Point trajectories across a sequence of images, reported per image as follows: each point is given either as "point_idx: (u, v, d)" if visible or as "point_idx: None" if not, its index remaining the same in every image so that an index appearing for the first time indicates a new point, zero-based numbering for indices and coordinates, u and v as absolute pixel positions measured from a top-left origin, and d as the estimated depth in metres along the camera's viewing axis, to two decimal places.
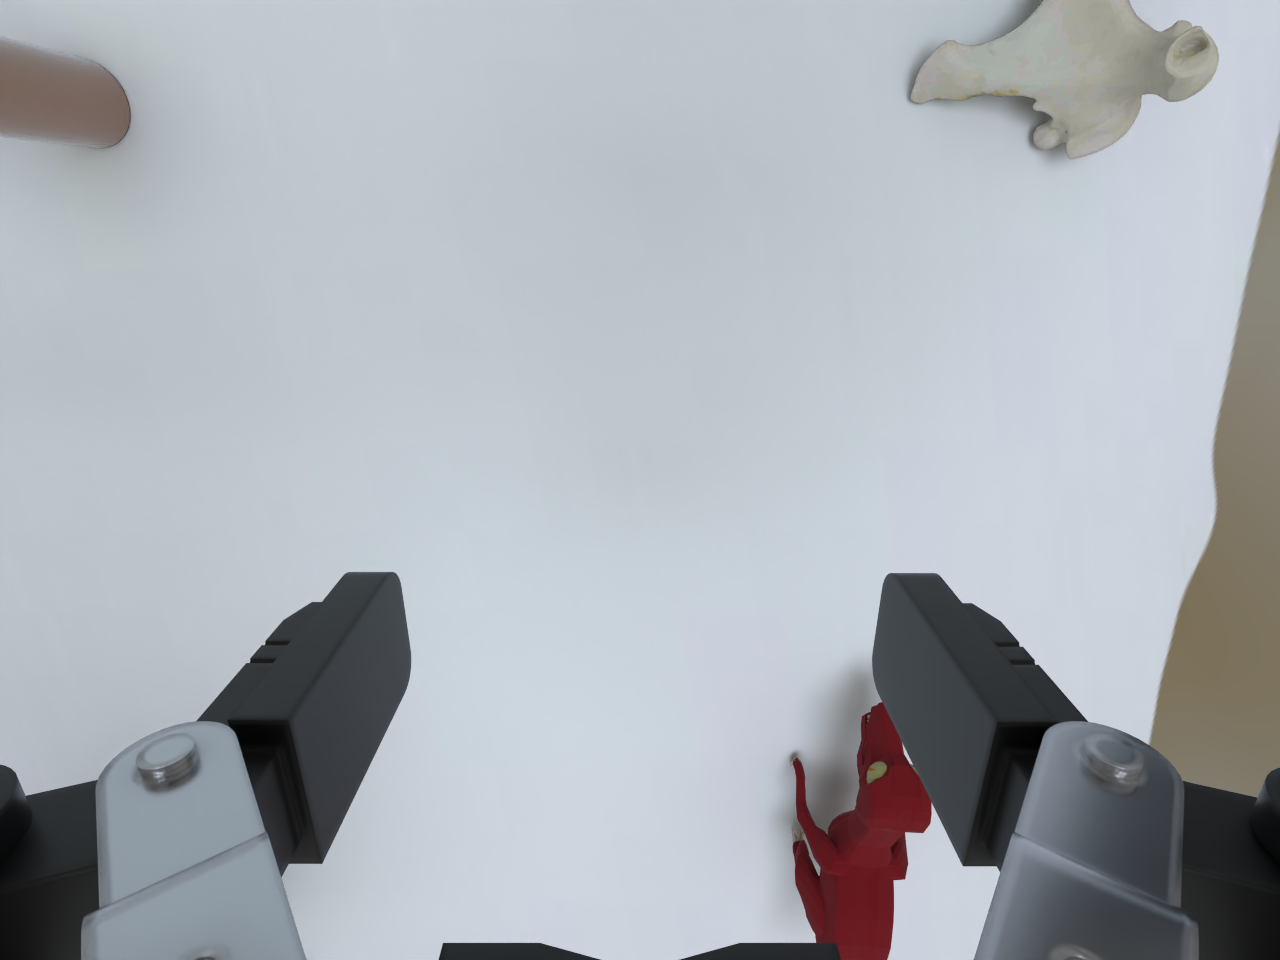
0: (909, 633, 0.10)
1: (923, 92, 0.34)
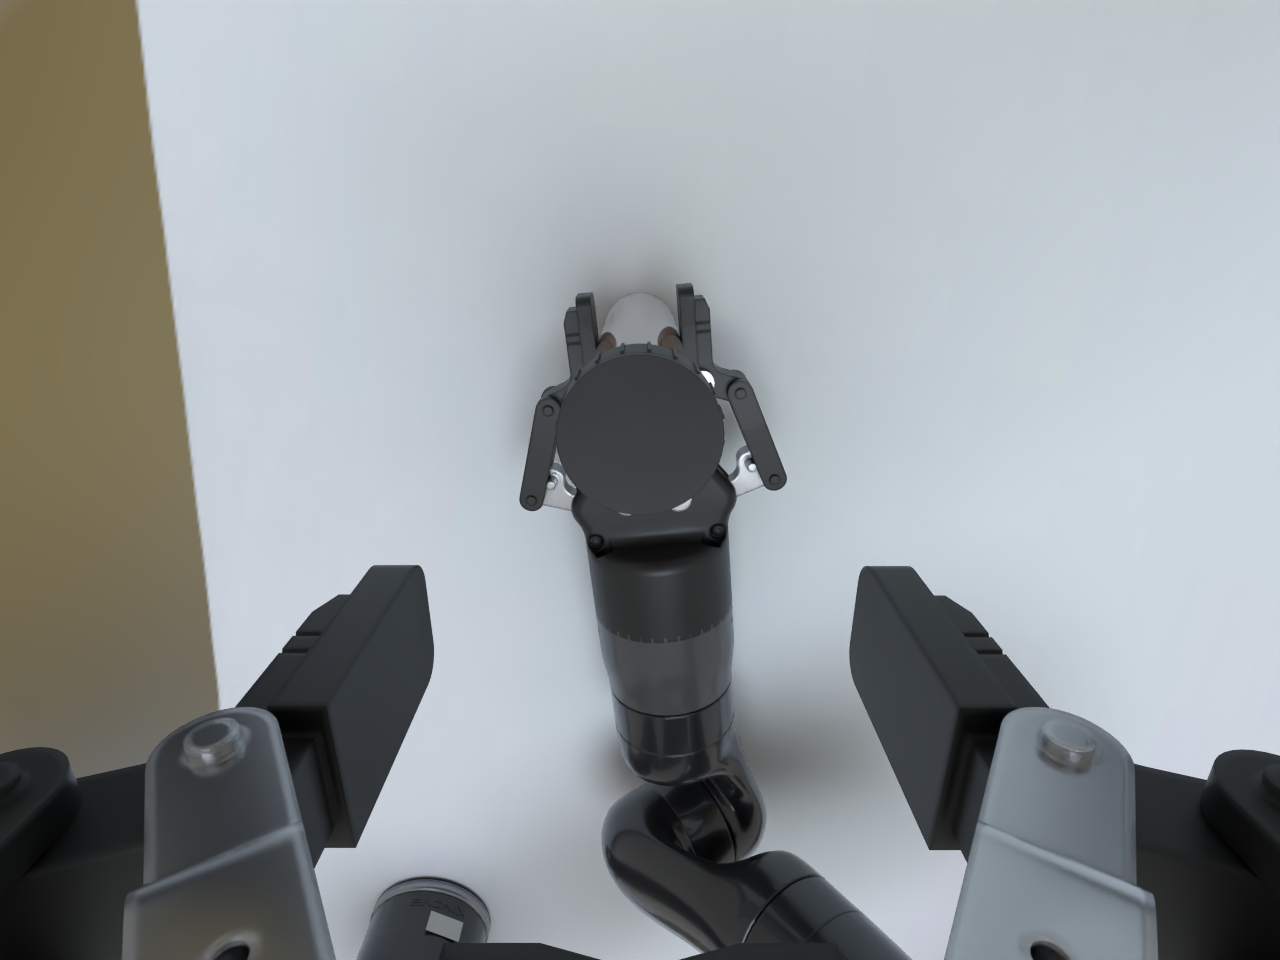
0: (882, 624, 0.10)
1: None
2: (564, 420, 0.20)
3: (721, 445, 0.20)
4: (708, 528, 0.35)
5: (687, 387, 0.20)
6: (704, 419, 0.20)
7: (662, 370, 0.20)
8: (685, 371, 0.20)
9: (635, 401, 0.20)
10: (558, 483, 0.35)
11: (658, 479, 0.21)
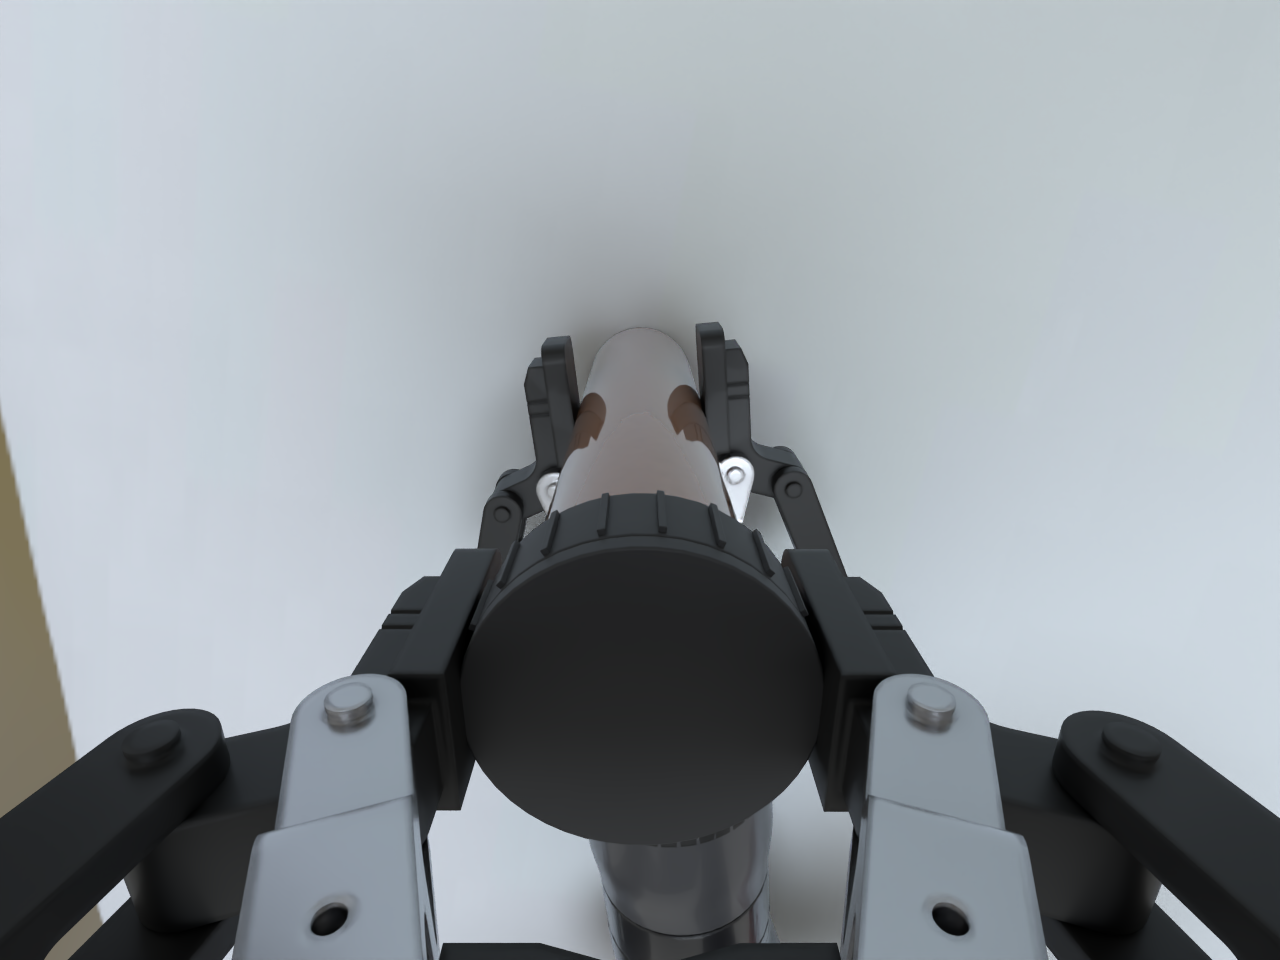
0: None
1: None
2: (474, 678, 0.09)
3: (818, 724, 0.09)
4: None
5: (748, 613, 0.09)
6: (784, 676, 0.09)
7: (693, 579, 0.09)
8: (745, 581, 0.09)
9: (631, 641, 0.09)
10: None
11: (680, 785, 0.10)
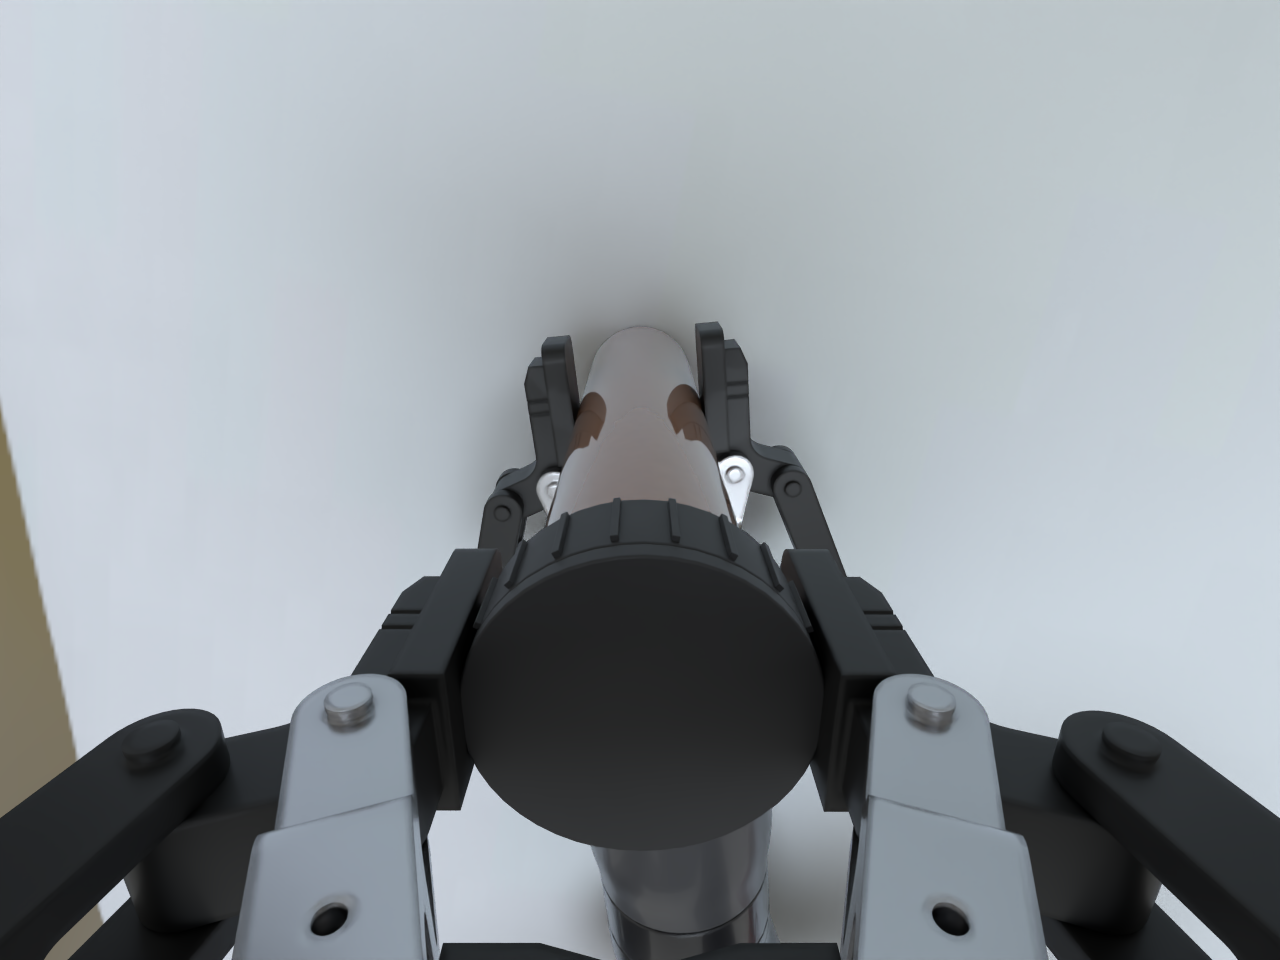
0: None
1: None
2: (594, 837, 0.10)
3: (672, 563, 0.08)
4: None
5: (528, 627, 0.09)
6: (605, 597, 0.09)
7: (490, 672, 0.09)
8: (492, 629, 0.09)
9: (558, 723, 0.09)
10: None
11: (742, 690, 0.09)
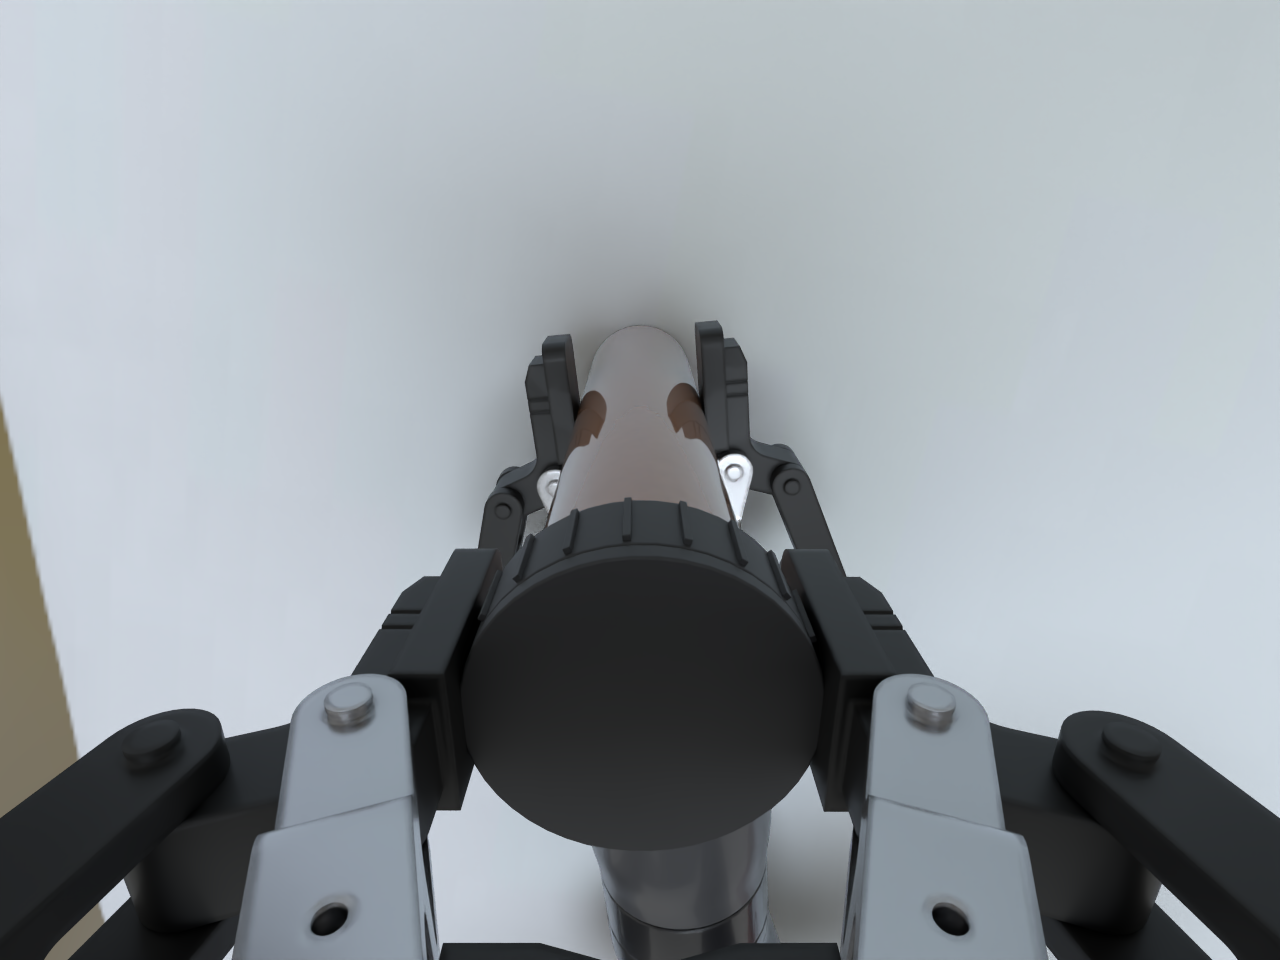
0: None
1: None
2: (793, 768, 0.10)
3: (464, 689, 0.09)
4: None
5: (534, 795, 0.10)
6: (501, 740, 0.09)
7: (581, 825, 0.10)
8: (536, 819, 0.10)
9: (641, 784, 0.10)
10: None
11: (612, 635, 0.09)
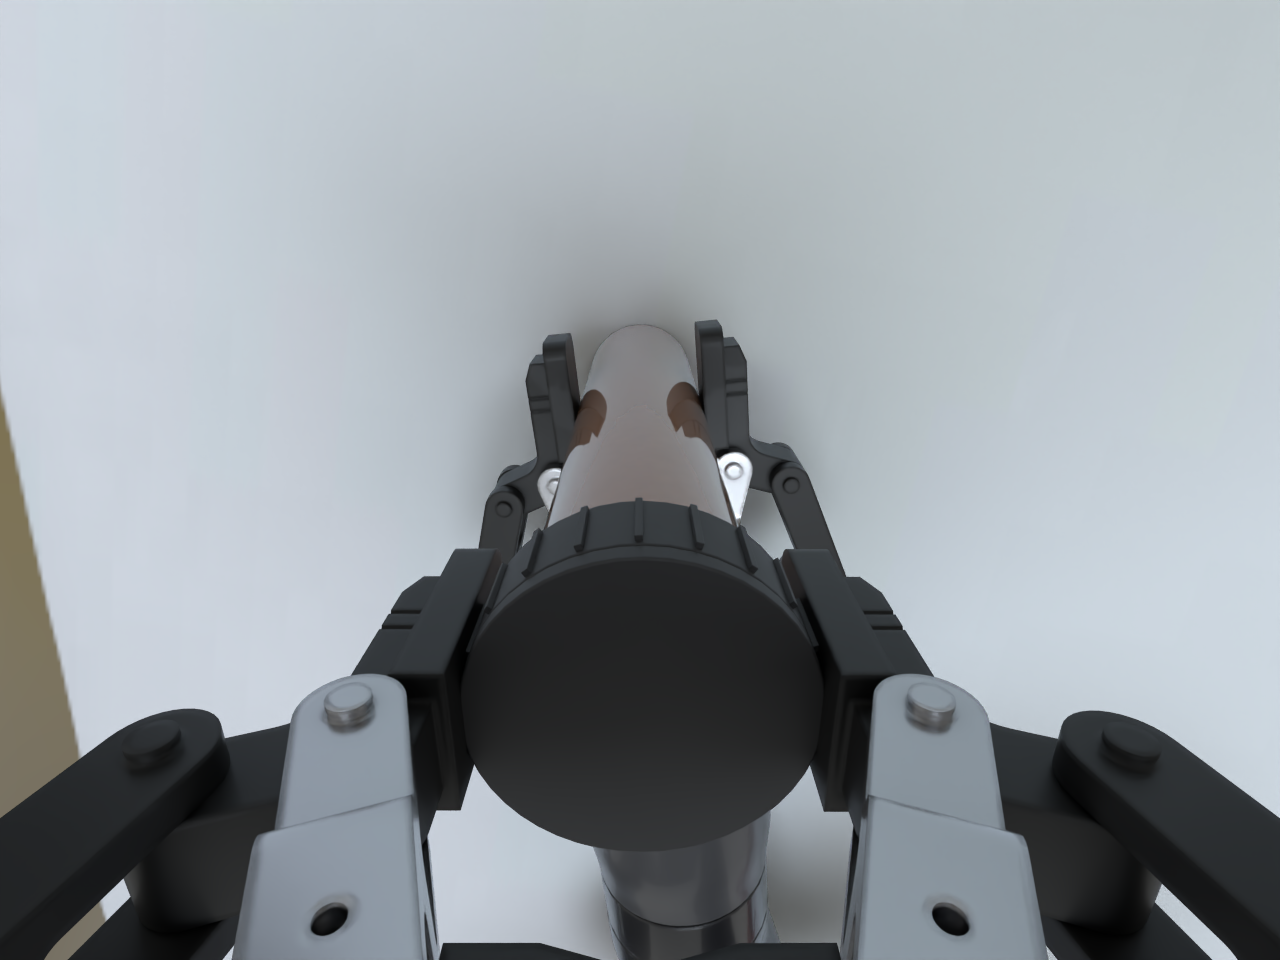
0: None
1: None
2: (720, 589, 0.09)
3: (597, 845, 0.10)
4: None
5: (729, 810, 0.10)
6: (657, 827, 0.10)
7: (775, 777, 0.10)
8: (761, 810, 0.10)
9: (726, 725, 0.09)
10: None
11: (542, 738, 0.09)
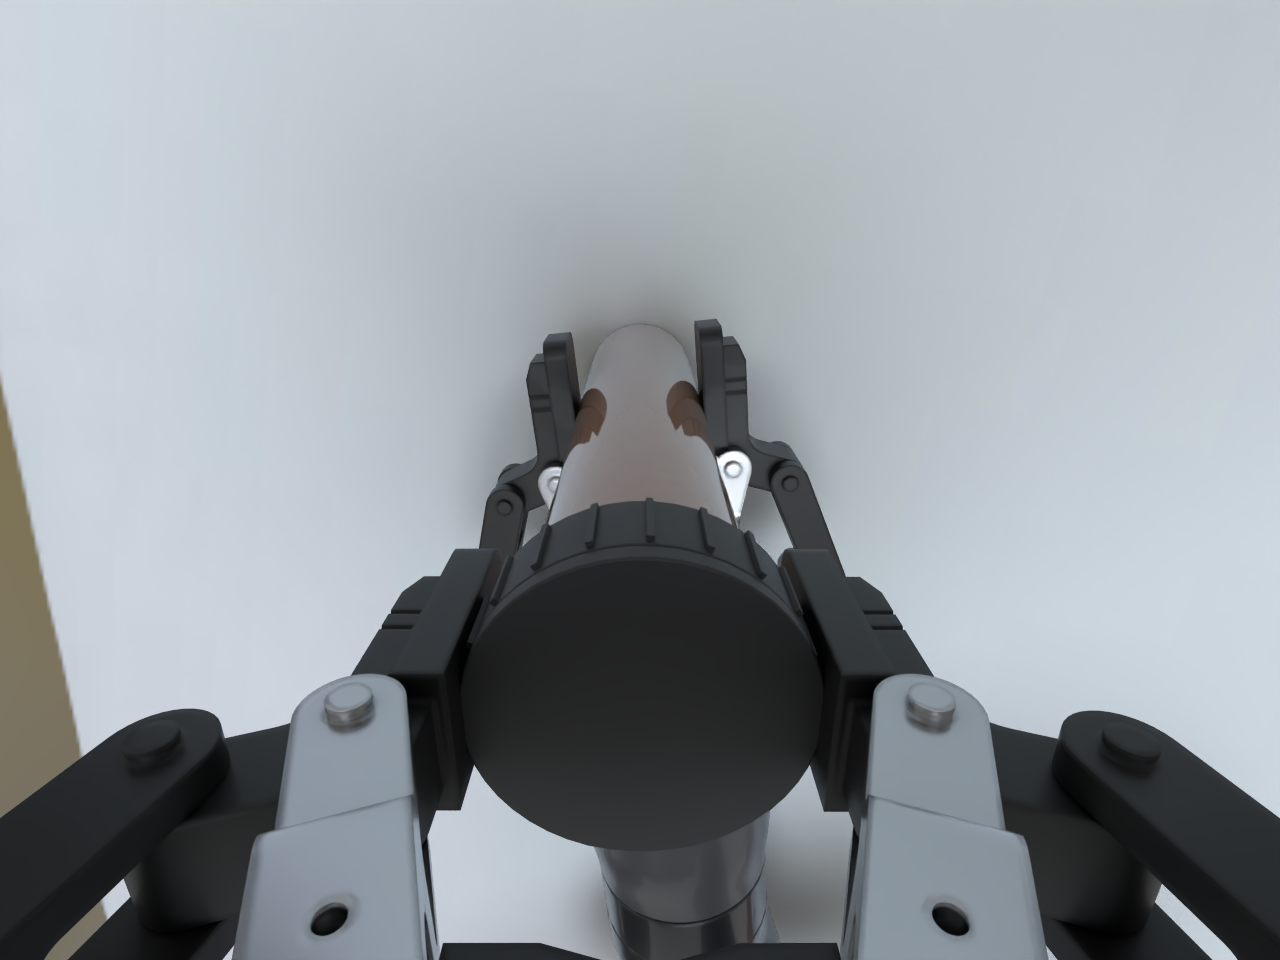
0: None
1: None
2: (487, 654, 0.09)
3: (805, 766, 0.10)
4: None
5: (773, 649, 0.09)
6: (788, 714, 0.09)
7: (731, 605, 0.09)
8: (780, 617, 0.09)
9: (653, 651, 0.09)
10: None
11: (657, 797, 0.10)
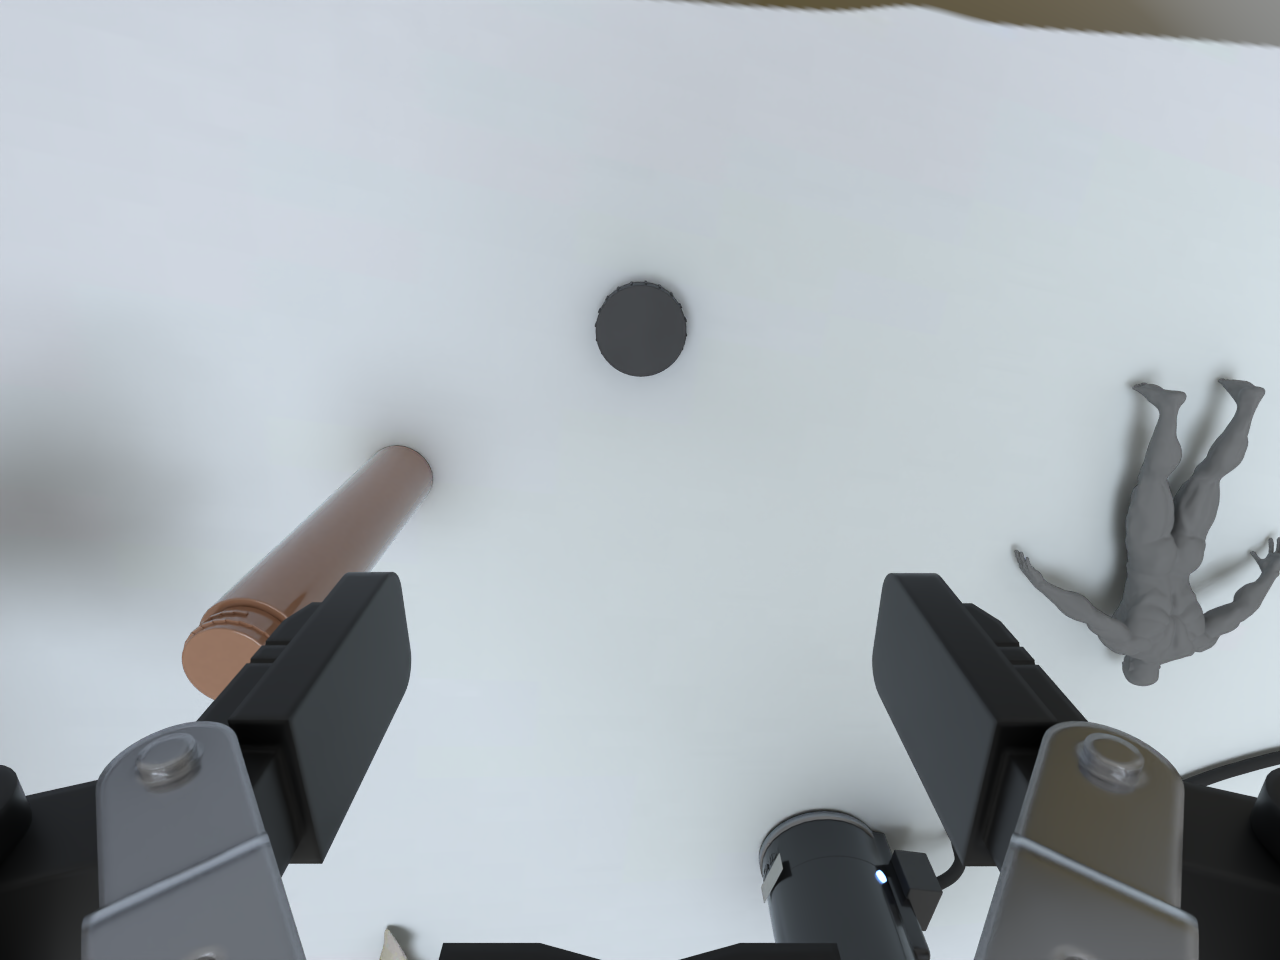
0: (909, 633, 0.10)
1: (387, 938, 0.57)
2: (619, 366, 0.39)
3: (658, 290, 0.37)
4: None
5: (621, 299, 0.37)
6: (641, 295, 0.37)
7: (608, 309, 0.38)
8: (613, 297, 0.37)
9: (620, 328, 0.38)
10: None
11: (666, 329, 0.38)
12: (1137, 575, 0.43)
